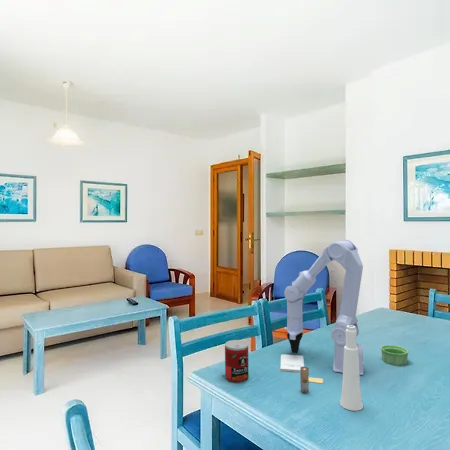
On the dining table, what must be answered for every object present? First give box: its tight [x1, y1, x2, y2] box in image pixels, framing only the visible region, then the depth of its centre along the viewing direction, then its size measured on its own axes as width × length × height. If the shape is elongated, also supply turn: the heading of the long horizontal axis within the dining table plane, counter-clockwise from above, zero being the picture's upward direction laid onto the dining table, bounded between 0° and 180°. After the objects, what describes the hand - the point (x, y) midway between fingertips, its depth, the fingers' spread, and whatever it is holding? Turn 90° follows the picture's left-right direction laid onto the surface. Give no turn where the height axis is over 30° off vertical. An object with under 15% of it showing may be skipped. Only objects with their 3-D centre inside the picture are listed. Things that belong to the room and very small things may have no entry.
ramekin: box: [380, 344, 409, 366], centre depth 124 cm, size 9×9×4 cm
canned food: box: [224, 339, 249, 383], centre depth 113 cm, size 8×8×11 cm
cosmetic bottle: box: [339, 325, 364, 412], centre depth 95 cm, size 6×6×22 cm
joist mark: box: [309, 376, 324, 385], centre depth 110 cm, size 5×3×1 cm, turn 72°
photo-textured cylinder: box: [299, 366, 310, 394], centre depth 103 cm, size 2×2×7 cm
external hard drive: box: [279, 353, 305, 374], centre depth 122 cm, size 2×8×12 cm
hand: (295, 352), depth 131 cm, fingers closed
